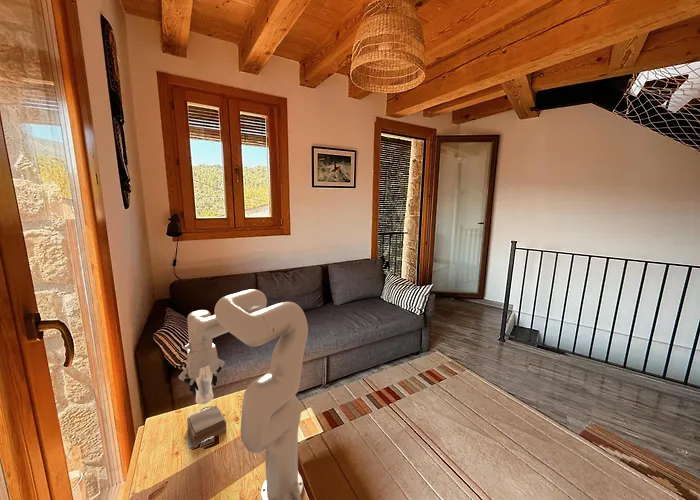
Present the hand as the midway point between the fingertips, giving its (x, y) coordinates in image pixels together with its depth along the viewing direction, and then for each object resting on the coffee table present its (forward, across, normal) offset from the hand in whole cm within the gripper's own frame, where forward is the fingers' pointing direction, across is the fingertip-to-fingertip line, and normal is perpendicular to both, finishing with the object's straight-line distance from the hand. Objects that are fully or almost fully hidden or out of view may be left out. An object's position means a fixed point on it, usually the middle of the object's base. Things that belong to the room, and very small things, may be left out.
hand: (204, 387), depth 107 cm
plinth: (+18, 0, 0) cm, 18 cm away
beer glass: (+5, 0, 0) cm, 5 cm away
